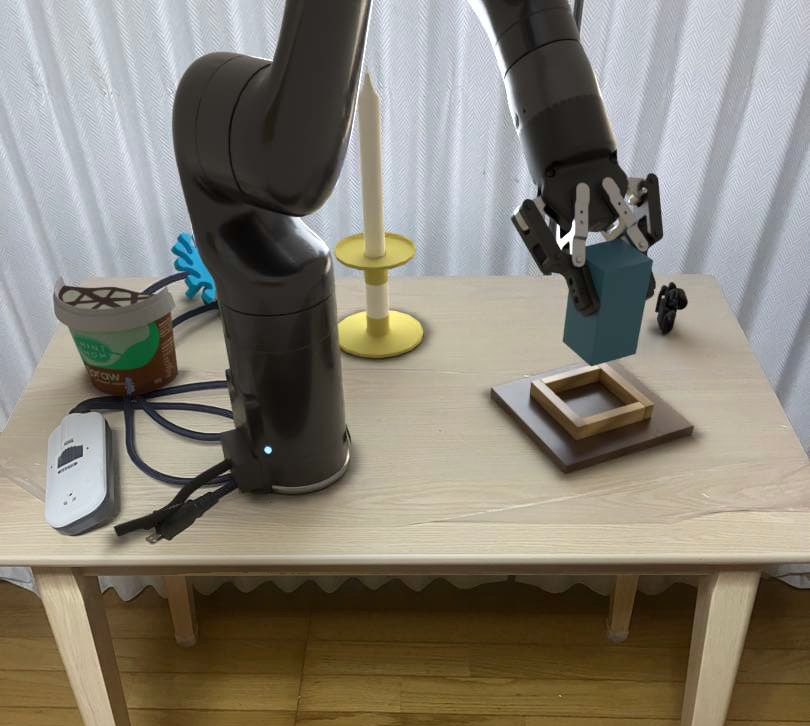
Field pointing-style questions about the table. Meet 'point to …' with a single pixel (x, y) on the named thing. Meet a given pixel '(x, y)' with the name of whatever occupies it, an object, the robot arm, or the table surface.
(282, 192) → the robot arm
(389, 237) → the candle
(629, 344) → the post block
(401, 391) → the table surface
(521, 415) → the square wooden socket base
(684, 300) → the wireless earbuds
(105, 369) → the food container
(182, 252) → the blue branched piece
